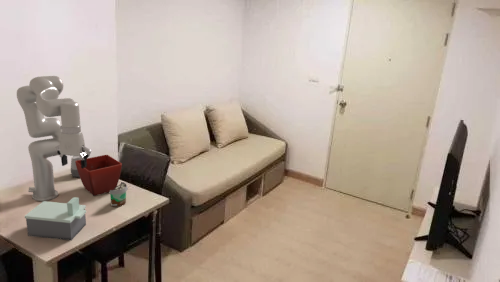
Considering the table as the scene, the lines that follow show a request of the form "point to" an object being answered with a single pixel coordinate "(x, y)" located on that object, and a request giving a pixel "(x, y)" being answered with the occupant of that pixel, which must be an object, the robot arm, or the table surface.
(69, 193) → the table surface
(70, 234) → the parts tub
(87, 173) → the plant pot
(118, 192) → the food container
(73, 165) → the smart speaker
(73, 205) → the lid
